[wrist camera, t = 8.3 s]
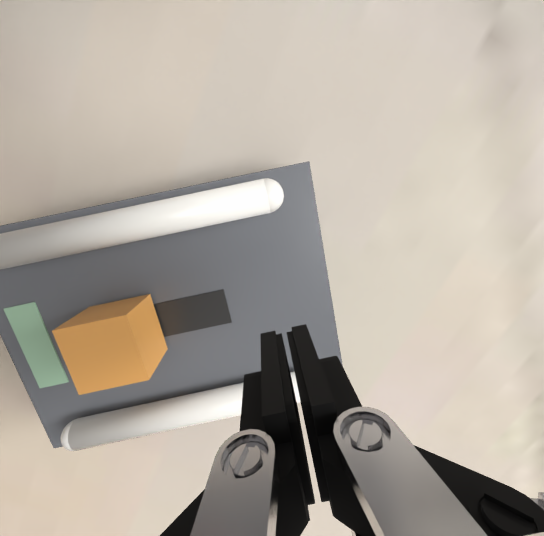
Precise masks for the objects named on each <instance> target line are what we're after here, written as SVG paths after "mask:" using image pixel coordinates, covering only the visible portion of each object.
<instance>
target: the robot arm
mask: <svg viewBox="0 0 544 536" xmlns="http://www.w3.org/2000/svg"><path fill="white" fill-rule="evenodd" d="M291 328H292V331H290V332H287V337H288V342H289V347H290V352H291V357H292V362H293V367H294V372H295V376H296V381H297V386H298V391H299V396H300V401H301V406H302V411H303V415H304V420H305V425H306V430H307V435H308V439H309V444H310V449H311V454H312V458H313V463H314V468H315V473H316V478H317V482H318V487H319V492H320V497H321V501H322V502H325V501H330V505H331V509H332V514H333V516H334V517H335V518H336V519H338V520H339V521H340V522H342V523H343V524H345V525H346V526H347V527H349V528H350V529H351V532H352V536H544V493H541V492H539V493H538V499H532V498H529V497H527V496H526V495H524V494H523V493H521V492H519V491H517V490H515V489H513V488H512V487H509V486H507V485H505V484H503V483H500V482H498V481H496V480H493V479H491V478H489V477H486V476H484V475H482V474H479V473H477V472H475V471H472V470H470V469H468V468H465V467H463V466H461V465H459V464H456V463H454V462H452V461H449V460H447V459H445V458H442V457H440V456H438V455H435V454H433V453H431V452H428V451H426V450H424V449H421V448H419V447H417V446H415V445H413V444H412V443H411V442H410V440H409V439H408V438H407V437H406V436H405V434H404V433H403V432H402V431H401V429H400V428H399V427H398V426H397V425H396V423H395V422H394V421H393V420H392V419H391V418H390V417H389V416H388V415H387V414H385V413H383V412H381V411H380V410H378V409H374V408H370V407H362V405H361V403H360V401H359V399H358V397H357V395H356V393H355V391H354V389H353V387H352V385H351V383H350V381H349V379H348V377H347V375H346V373H345V371H344V368H343V366H342V364H341V362H340V360H339V358H338V357H337V356H332V357H327V358H322V359H319V358H318V355H317V352H316V350H315V347H314V344H313V342H312V339H311V336H310V333H309V331H308V328H307V325H306V324H304V325H299V326H295V327H291ZM260 338H261V371H259V372H254V373H249V374H245V375H244V382H243V395H242V408H241V421H240V432H238V433H236V434H234V435H232V436H231V437H230V438H228V439H227V440H226V441H225V442H224V443H223V444H222V445H221V447H220V448H219V450H218V452H217V454H216V456H215V459H214V462H213V465H212V468H211V472H210V475H209V478H208V481H207V484H206V487H205V489H204V490H203V491H202V492H201V494H200V495H199V496H198V497H197V498H196V499H195V500H194V501H193V502H192V503H191V504H190V505H189V506H188V507H187V508H186V509H185V510H184V511H183V512H182V513H181V514H180V515H179V516H178V517H177V518H176V519H175V520H174V522H173V523H172V524H171V525H170V526H169V527H168V528H167V529H166V530H165V531H164V532H163V533H162V534H161V535H160V536H300V535H301V533H302V532H303V530H304V528H305V527H306V525H307V524H308V521H310V518H309V511H308V505H310V504H315V500H314V494H313V489H312V483H311V478H310V473H309V467H308V462H307V456H306V451H305V445H304V440H303V435H302V429H301V424H300V418H299V413H298V407H297V402H296V397H295V393H294V388H293V383H292V379H291V374H290V369H289V365H288V360H287V355H286V351H285V346H284V341H283V337H282V333H280V334H276V331H270V332H266V333H261V334H260Z"/></svg>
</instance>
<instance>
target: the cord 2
mask: <svg viewBox="0 0 544 536" xmlns="http://www.w3.org/2000/svg"><path fill="white" fill-rule="evenodd" d="M290 374H291V379H292V383H293V388H294V393H295V397H296V402H297V403H300V402H301V401H300V396H299V391H298V386H297V381H296V376H295V372H290ZM242 395H243V383H239V384H235V385H230V386H225V387H221V388H216V389H211V390H207V391H202V392H197V393H193V394H188V395H183V396H179V397H174V398H169V399H165V400H160V401H156V402H151V403H146V404H142V405H137V406H132V407H128V408H123V409H118V410H114V411H109V412H104V413H100V414H95V415H90V416H86V417H81V418H77V419H74V420H73V421H71V422H70V423H68V424H67V425H66V427H65V428H64V429H63V431H62V434H61V444H62V446H63V447H64V448H65V449H67V450H69V451H77V450H82V449H87V448H91V447H96V446H101V445H105V444H110V443H114V442H119V441H124V440H128V439H133V438H138V437H142V436H147V435H151V434H156V433H161V432H165V431H170V430H175V429H179V428H184V427H188V426H193V425H198V424H202V423H207V422H212V421H216V420H221V419H225V418H230V417H235V416H239V415H241V408H242Z"/></svg>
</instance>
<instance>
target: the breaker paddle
mask: <svg viewBox="0 0 544 536" xmlns="http://www.w3.org/2000/svg"><path fill="white" fill-rule="evenodd" d="M52 333H53V335H54V337H55V340H56V342H57V344H58V347H59V349H60V352H61V354H62V356H63V359H64V361H65V363H66V366H67V368H68V370H69V373H70V375H71V378H72V380H73V382H74V385H75V387H76V389H77V392H78V394H79V395H82V394H86V393H91V392H96V391H100V390H105V389H110V388H114V387H119V386H124V385H128V384H133V383H138V382H142V381H147V380H149V379H150V378H151V376H152V374H153V373H154V371H155V369H156V368H157V366H158V364H159V363H160V361H161V359H162V358H163V356H164V354H165V352H166V351H167V349H168V348H167V345H166V342H165V339H164V335H163V332H162V329H161V326H160V323H159V320H158V317H157V314H156V311H155V308H154V304H153V301H152V298H151V295H150V294H147V295H143V296H138V297H133V298H128V299H124V300H119V301H114V302H110V303H105V304H100V305H95V306H91V307H88V308H87V309H85V310H83V311H82V312H80V313H79V314H77V315H76V316H74V317H73V318H71V319H69V320H68V321H66V322H65V323H63V324H62V325H60V326H58V327H57V328H55V329H54V330H52Z"/></svg>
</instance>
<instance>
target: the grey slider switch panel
mask: <svg viewBox="0 0 544 536" xmlns="http://www.w3.org/2000/svg"><path fill="white" fill-rule="evenodd" d="M264 178H269V179H273V180H275V181H277V182H278V183H279V184H280V185H281V187H282V189H283V193H284V199H283V203H282V205H281V206H280V207H279V208H278V209H277V210H276V211H274V212H272V213H268V214H263V215H258V216H253V217H249V218H244V219H239V220H234V221H230V222H225V223H220V224H215V225H211V226H206V227H201V228H196V229H192V230H187V231H182V232H177V233H173V234H168V235H163V236H158V237H154V238H149V239H144V240H139V241H135V242H130V243H125V244H120V245H116V246H111V247H106V248H101V249H97V250H92V251H87V252H82V253H78V254H73V255H68V256H63V257H59V258H54V259H49V260H44V261H40V262H35V263H30V264H25V265H21V266H16V267H11V268H6V269H0V335H1V337H2V339H3V341H4V344H5V346H6V348H7V350H8V352H9V354H10V356H11V358H12V361H13V363H14V365H15V367H16V369H17V371H18V373H19V375H20V378H21V380H22V382H23V384H24V386H25V388H26V390H27V392H28V394H29V397H30V399H31V401H32V403H33V405H34V407H35V409H36V411H37V414H38V416H39V418H40V420H41V422H42V424H43V426H44V428H45V430H46V433H47V435H48V437H49V439H50V441H51V443H52V445H53V447H54V448H58V447H62V444H61V434H62V431H63V429H64V428H65V427H66V425H67V424H68V423H70V422H71V421H73V420H74V419H77V418H81V417H86V416H90V415H95V414H100V413H104V412H109V411H114V410H118V409H123V408H128V407H132V406H137V405H142V404H146V403H151V402H156V401H160V400H165V399H169V398H174V397H179V396H183V395H188V394H193V393H197V392H202V391H207V390H211V389H216V388H221V387H225V386H230V385H235V384H239V383H243V382H244V375H245V374H249V373H254V372H259V371H261V338H260V334H261V333H266V332H270V331H276V334H280V333H282V337H283V341H284V346H285V351H286V355H287V360H288V365H289V369H290V372H294V367H293V362H292V357H291V352H290V347H289V342H288V337H287V332H290V331H292V328H291V327H295V326H299V325H304V324H306V325H307V328H308V331H309V333H310V336H311V339H312V342H313V344H314V347H315V350H316V352H317V355H318V358H319V359H322V358H327V357H332V356H337V357H338V358H339V360H340V362H341V364H342V359H341V353H340V347H339V341H338V335H337V329H336V323H335V316H334V310H333V304H332V298H331V292H330V286H329V280H328V273H327V267H326V261H325V255H324V249H323V243H322V237H321V230H320V224H319V218H318V212H317V206H316V200H315V194H314V187H313V181H312V175H311V169H310V163H309V162H304V163H299V164H294V165H289V166H285V167H280V168H275V169H270V170H266V171H261V172H256V173H251V174H246V175H242V176H237V177H232V178H227V179H223V180H218V181H213V182H208V183H203V184H199V185H194V186H189V187H184V188H180V189H175V190H170V191H165V192H160V193H156V194H151V195H146V196H141V197H137V198H132V199H127V200H122V201H117V202H113V203H108V204H103V205H98V206H93V207H89V208H84V209H79V210H74V211H70V212H65V213H60V214H55V215H50V216H46V217H41V218H36V219H31V220H27V221H22V222H17V223H12V224H7V225H3V226H0V234H1V233H6V232H11V231H15V230H20V229H25V228H30V227H35V226H39V225H44V224H49V223H54V222H58V221H63V220H68V219H73V218H77V217H82V216H87V215H92V214H97V213H101V212H106V211H111V210H116V209H120V208H125V207H130V206H135V205H140V204H144V203H149V202H154V201H159V200H163V199H168V198H173V197H178V196H183V195H187V194H192V193H197V192H202V191H206V190H211V189H216V188H221V187H225V186H230V185H235V184H240V183H245V182H249V181H254V180H259V179H264ZM147 294H150V295H151V298H152V301H153V304H154V308H155V311H156V314H157V317H158V320H159V323H160V326H161V329H162V332H163V335H164V339H165V342H166V345H167V348H168V349H167V351H166V352H165V354H164V356H163V358H162V359H161V361H160V363H159V364H158V366H157V368H156V369H155V371H154V373H153V374H152V376H151V378H150V379H149V380H147V381H142V382H138V383H133V384H128V385H124V386H119V387H114V388H110V389H105V390H100V391H96V392H91V393H86V394H82V395H79V394H78V392H77V389H76V387H75V385H74V382H73V380H72V378H71V375H70V373H69V370H68V368H67V366H66V363H65V361H64V359H63V356H62V354H61V352H60V349H59V347H58V344H57V342H56V340H55V337H54V335H53V333H52V330H54V329H55V328H57V327H58V326H60V325H62V324H63V323H65V322H66V321H68V320H69V319H71V318H73V317H74V316H76V315H77V314H79V313H80V312H82V311H83V310H85V309H87V308H88V307H91V306H95V305H100V304H105V303H110V302H114V301H119V300H124V299H128V298H133V297H138V296H143V295H147Z"/></svg>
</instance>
